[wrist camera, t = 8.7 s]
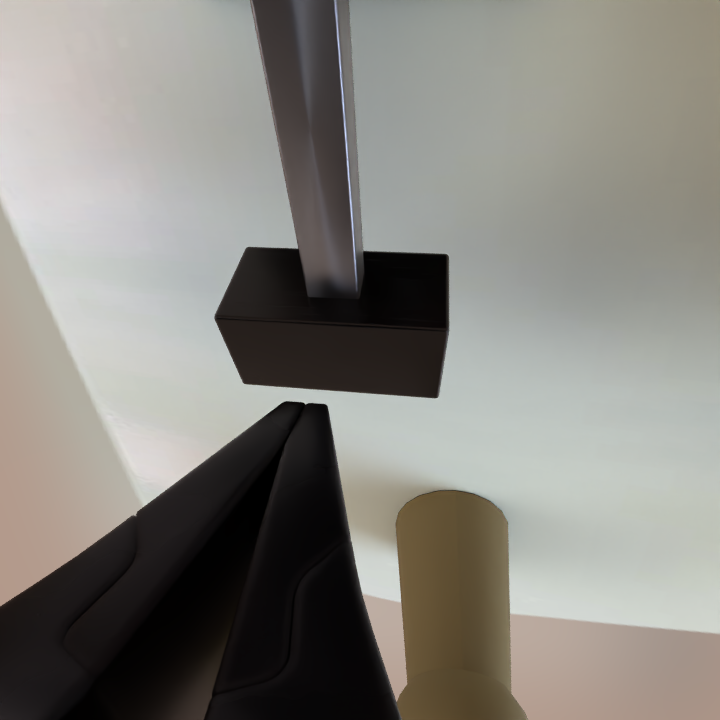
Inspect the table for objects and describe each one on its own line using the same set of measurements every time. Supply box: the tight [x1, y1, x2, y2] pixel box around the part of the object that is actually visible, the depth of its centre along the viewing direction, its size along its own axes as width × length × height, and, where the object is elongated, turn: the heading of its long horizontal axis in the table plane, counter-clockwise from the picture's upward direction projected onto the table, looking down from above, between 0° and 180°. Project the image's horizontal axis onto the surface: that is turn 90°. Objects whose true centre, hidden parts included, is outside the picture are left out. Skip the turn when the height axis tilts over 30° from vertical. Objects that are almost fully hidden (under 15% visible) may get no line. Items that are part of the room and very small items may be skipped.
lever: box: [215, 0, 449, 398], centre depth 7 cm, size 13×5×3 cm, turn 0°
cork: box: [396, 491, 528, 720], centre depth 19 cm, size 6×6×11 cm
